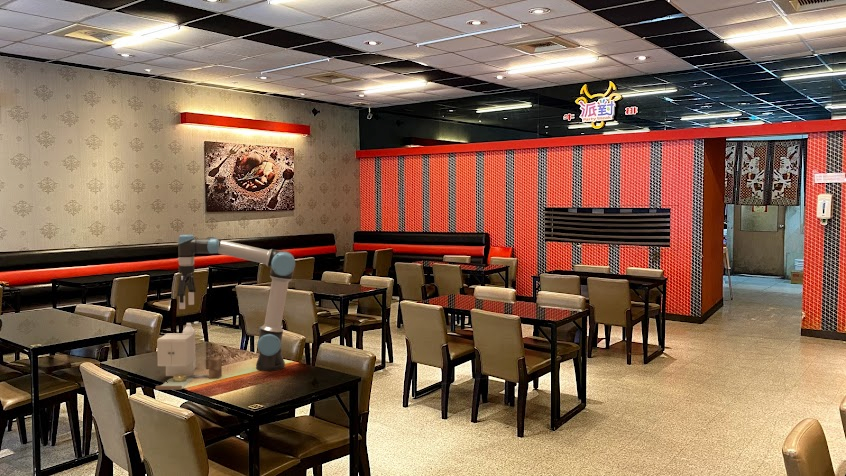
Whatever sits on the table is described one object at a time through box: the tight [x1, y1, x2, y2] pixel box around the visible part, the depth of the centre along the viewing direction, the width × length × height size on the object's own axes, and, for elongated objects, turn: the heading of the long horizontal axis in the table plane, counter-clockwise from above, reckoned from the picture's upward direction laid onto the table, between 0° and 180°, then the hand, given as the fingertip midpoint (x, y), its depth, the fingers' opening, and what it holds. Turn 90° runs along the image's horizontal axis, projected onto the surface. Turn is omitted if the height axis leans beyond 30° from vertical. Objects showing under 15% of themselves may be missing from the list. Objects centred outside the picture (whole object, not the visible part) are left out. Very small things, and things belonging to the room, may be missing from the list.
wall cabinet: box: [156, 332, 195, 377], centre depth 330 cm, size 14×14×22 cm
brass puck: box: [172, 374, 186, 382], centre depth 328 cm, size 6×6×2 cm
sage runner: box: [155, 377, 195, 391], centre depth 322 cm, size 12×20×2 cm, turn 2°
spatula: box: [186, 356, 223, 380], centre depth 334 cm, size 21×5×10 cm, turn 92°
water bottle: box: [182, 321, 199, 370], centre depth 351 cm, size 9×6×25 cm
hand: (186, 306), depth 332 cm, fingers open, 13 cm apart
